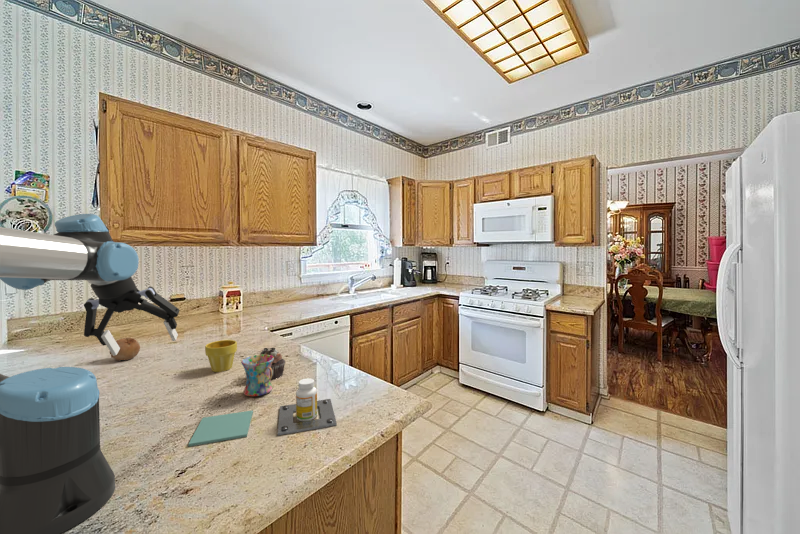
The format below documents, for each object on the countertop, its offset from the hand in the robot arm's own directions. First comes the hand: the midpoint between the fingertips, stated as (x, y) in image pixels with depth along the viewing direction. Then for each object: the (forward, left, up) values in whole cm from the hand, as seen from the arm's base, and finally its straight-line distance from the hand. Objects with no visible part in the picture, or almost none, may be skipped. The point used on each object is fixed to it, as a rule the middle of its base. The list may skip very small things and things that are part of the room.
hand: (146, 344), depth 86 cm
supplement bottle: (-17, -41, -19) cm, 48 cm away
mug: (+2, -28, -19) cm, 34 cm away
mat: (-16, -21, -19) cm, 32 cm away
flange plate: (-17, -41, -19) cm, 48 cm away
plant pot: (+29, -12, -19) cm, 37 cm away
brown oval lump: (+54, +28, -19) cm, 64 cm away
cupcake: (+16, -30, -19) cm, 39 cm away
